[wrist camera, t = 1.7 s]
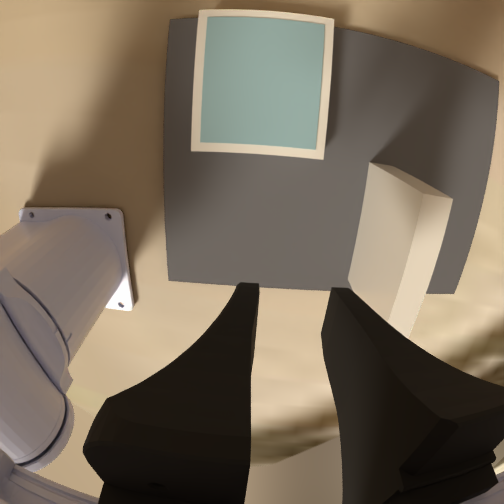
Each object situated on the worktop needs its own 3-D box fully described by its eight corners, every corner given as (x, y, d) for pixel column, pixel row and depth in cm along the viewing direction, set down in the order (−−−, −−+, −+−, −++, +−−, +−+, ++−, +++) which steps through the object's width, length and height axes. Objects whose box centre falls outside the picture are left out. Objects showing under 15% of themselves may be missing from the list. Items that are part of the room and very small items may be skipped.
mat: (170, 277, 22) (168, 280, 21) (172, 21, 14) (170, 19, 14) (451, 290, 22) (454, 293, 21) (495, 81, 15) (499, 81, 14)
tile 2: (347, 279, 21) (377, 348, 15) (369, 162, 17) (423, 193, 11) (370, 280, 21) (405, 347, 15) (394, 166, 17) (454, 199, 11)
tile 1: (196, 147, 17) (190, 151, 16) (204, 17, 14) (198, 9, 12) (317, 155, 17) (323, 160, 16) (327, 25, 14) (334, 18, 12)
